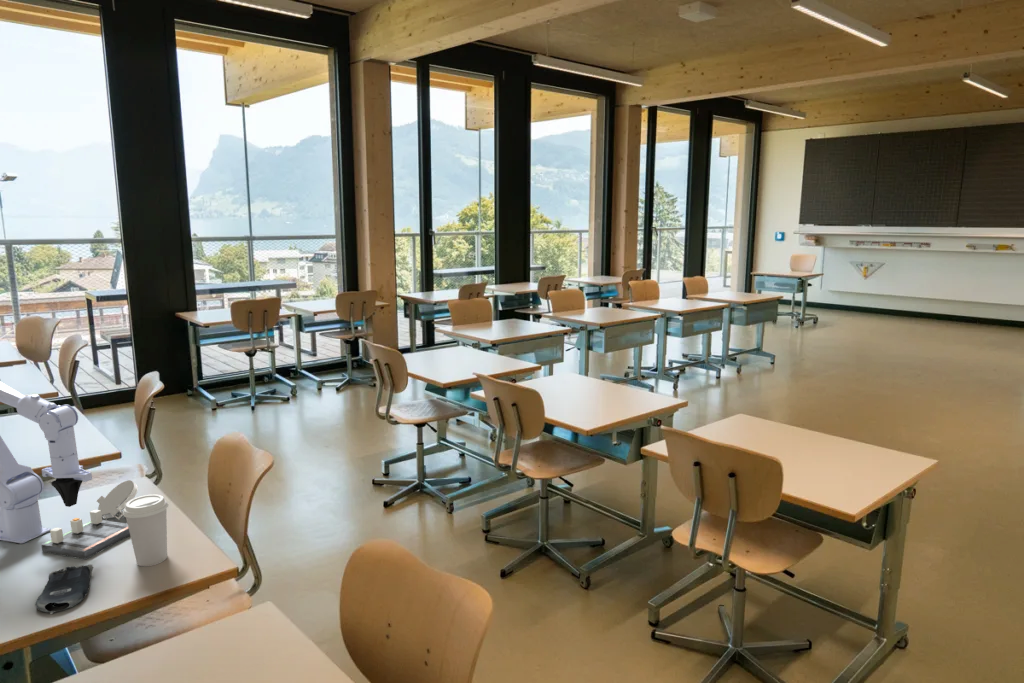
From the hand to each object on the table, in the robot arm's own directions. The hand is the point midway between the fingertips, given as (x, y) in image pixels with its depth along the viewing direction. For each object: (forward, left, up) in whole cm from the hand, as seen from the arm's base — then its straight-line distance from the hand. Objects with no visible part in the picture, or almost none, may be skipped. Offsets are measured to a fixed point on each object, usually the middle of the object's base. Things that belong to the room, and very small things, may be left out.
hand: (71, 505), depth 171 cm
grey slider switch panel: (+5, 0, -9) cm, 11 cm away
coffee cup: (+28, -3, -10) cm, 30 cm away
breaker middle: (+1, 0, -7) cm, 7 cm away
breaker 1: (+1, -6, -7) cm, 9 cm away
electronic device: (+22, -21, -10) cm, 32 cm away
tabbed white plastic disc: (-3, +16, -10) cm, 19 cm away
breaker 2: (+1, +6, -7) cm, 9 cm away
